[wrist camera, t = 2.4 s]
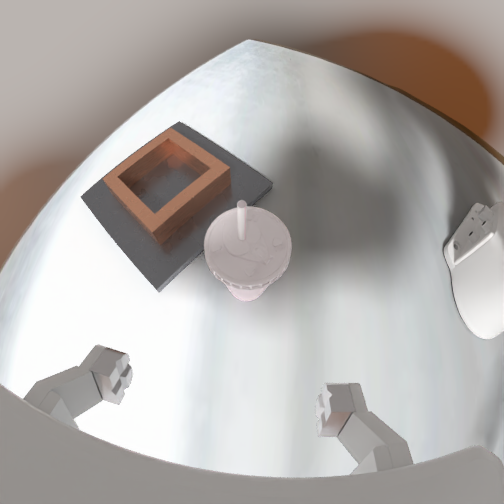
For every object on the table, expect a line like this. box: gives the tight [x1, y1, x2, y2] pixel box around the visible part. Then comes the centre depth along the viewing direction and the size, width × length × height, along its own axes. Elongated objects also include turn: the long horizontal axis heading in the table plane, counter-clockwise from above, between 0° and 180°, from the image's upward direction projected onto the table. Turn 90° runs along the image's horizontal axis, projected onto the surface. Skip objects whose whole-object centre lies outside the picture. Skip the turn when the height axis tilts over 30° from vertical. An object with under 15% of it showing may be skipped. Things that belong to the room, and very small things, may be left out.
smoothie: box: [204, 200, 292, 301], centre depth 22 cm, size 6×6×14 cm
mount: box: [81, 122, 273, 292], centre depth 31 cm, size 18×18×4 cm
